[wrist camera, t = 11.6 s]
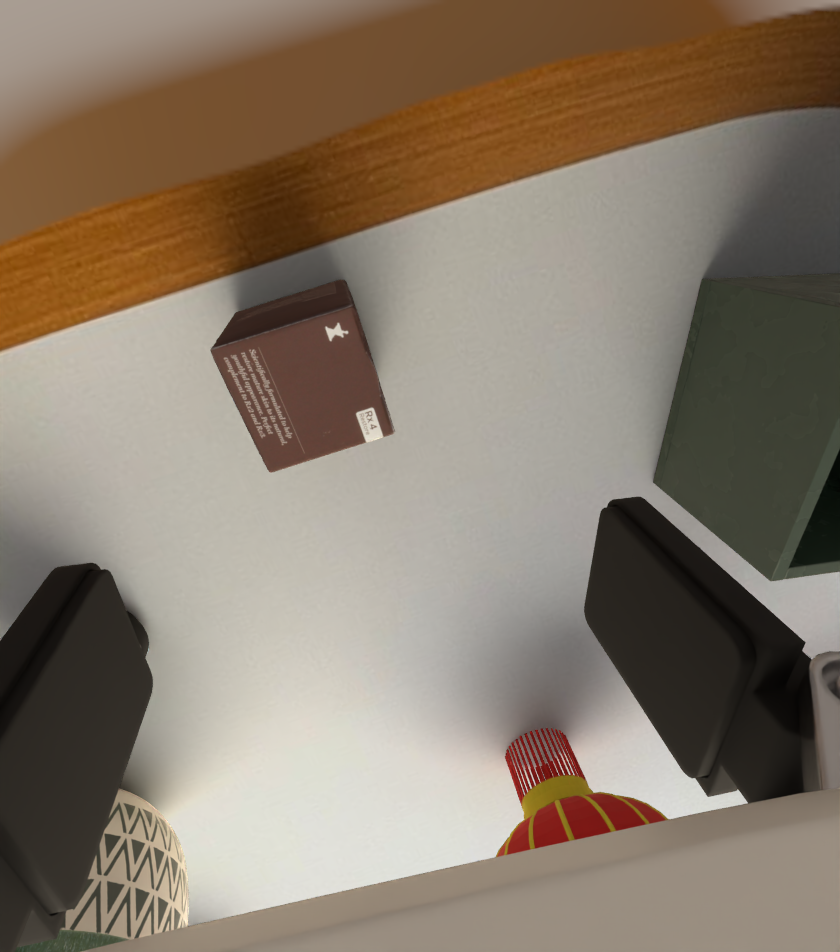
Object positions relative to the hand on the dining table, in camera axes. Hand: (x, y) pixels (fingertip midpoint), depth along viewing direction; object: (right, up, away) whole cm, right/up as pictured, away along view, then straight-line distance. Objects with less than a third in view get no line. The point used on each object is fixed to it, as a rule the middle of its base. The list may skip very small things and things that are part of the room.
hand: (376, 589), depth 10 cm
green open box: (+23, +8, +24) cm, 34 cm away
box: (-5, +9, +18) cm, 20 cm away
